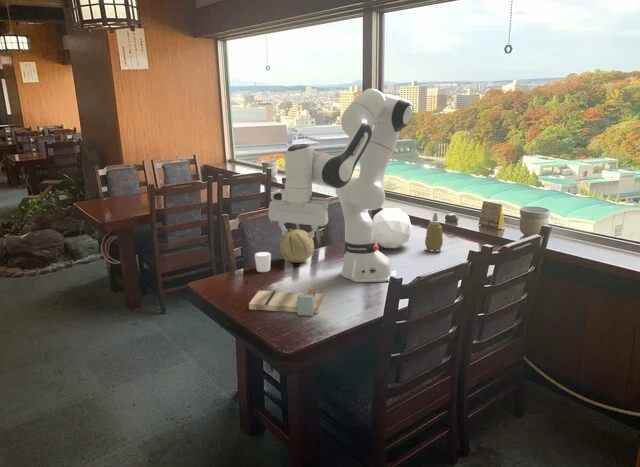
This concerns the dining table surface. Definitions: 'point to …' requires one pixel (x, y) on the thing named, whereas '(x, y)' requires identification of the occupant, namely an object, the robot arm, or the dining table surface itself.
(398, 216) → the ball
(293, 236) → the cantaloupe
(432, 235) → the squeeze bottle
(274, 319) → the dining table surface
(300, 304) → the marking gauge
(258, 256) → the white cup
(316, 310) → the maple board
